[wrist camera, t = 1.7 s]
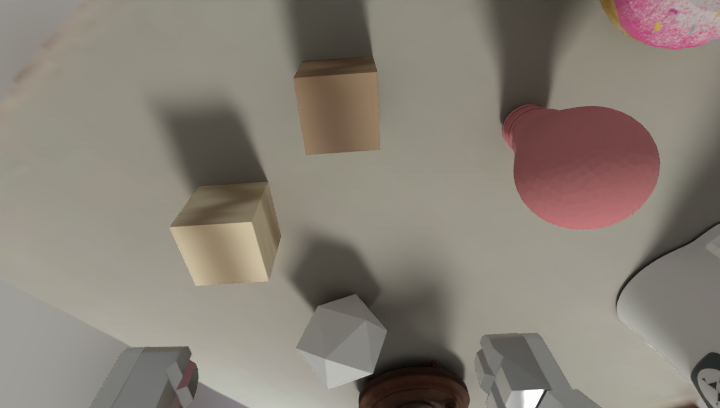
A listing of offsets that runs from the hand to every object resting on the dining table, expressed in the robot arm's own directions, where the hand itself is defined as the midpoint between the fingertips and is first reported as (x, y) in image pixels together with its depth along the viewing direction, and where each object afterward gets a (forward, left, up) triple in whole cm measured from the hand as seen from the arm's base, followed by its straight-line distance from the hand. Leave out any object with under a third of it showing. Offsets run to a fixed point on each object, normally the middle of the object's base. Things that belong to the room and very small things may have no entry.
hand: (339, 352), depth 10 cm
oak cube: (+10, +8, -21) cm, 24 cm away
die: (+2, +22, -21) cm, 31 cm away
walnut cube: (0, -2, -21) cm, 21 cm away
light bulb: (-14, +1, -21) cm, 25 cm away
